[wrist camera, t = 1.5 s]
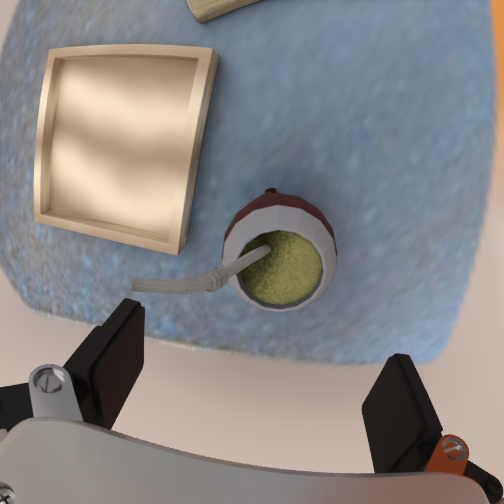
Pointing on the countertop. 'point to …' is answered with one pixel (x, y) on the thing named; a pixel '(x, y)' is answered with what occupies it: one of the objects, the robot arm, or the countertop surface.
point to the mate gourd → (268, 256)
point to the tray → (122, 140)
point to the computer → (214, 7)
